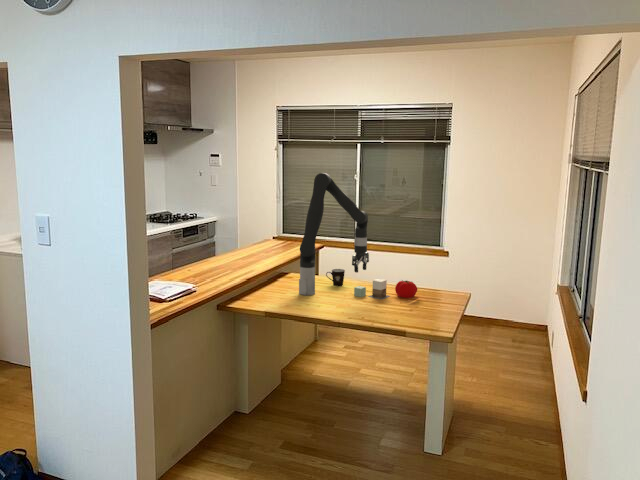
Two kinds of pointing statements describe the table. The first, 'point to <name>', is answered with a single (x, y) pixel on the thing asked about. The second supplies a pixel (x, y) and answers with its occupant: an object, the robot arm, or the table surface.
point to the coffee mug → (337, 276)
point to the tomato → (405, 289)
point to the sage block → (359, 291)
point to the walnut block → (378, 293)
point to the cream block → (379, 284)
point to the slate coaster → (379, 298)
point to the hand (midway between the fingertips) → (360, 271)
